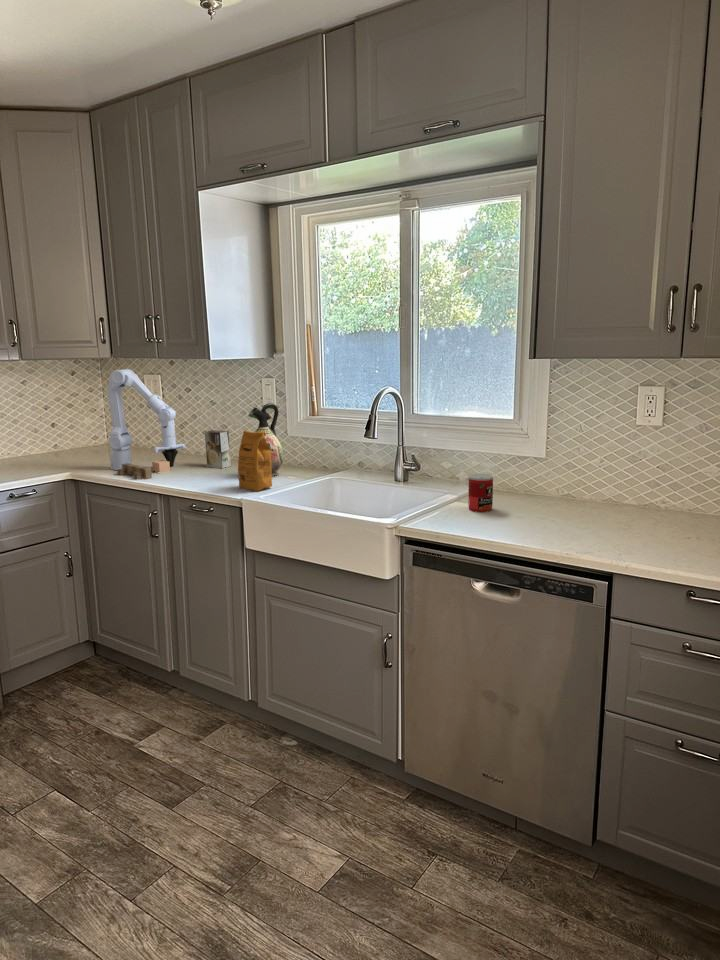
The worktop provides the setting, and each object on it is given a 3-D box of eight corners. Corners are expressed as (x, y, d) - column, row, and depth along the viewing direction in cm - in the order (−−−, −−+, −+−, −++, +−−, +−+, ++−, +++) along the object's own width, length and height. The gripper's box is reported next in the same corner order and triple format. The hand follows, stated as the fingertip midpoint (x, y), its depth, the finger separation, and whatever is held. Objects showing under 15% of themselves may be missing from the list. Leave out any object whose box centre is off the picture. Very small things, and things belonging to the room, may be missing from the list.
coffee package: (254, 484, 269) (252, 428, 265) (276, 488, 261) (273, 430, 257) (234, 488, 262) (231, 431, 257) (256, 492, 254) (253, 433, 249)
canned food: (480, 513, 218) (481, 479, 216) (463, 508, 224) (463, 475, 222) (497, 509, 222) (498, 476, 220) (479, 505, 229) (480, 472, 226)
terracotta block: (152, 471, 299) (151, 461, 298) (163, 470, 303) (162, 460, 302) (159, 473, 295) (159, 463, 294) (170, 471, 299) (169, 461, 298)
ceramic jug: (251, 480, 276) (247, 405, 269) (243, 473, 290) (239, 402, 284) (292, 476, 282) (289, 403, 276) (282, 470, 296) (279, 400, 290)
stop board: (115, 474, 294) (115, 465, 293) (127, 472, 298) (126, 463, 297) (139, 480, 281) (139, 470, 280) (151, 478, 285) (150, 468, 284)
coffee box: (231, 466, 308) (229, 430, 305) (222, 468, 302) (220, 432, 299) (215, 464, 312) (213, 429, 309) (206, 467, 307) (203, 431, 303)
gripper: (158, 438, 291) (161, 470, 294) (188, 434, 302) (190, 465, 304) (149, 437, 296) (152, 468, 299) (179, 433, 306) (181, 463, 309)
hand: (170, 466), depth 302 cm, fingers closed
